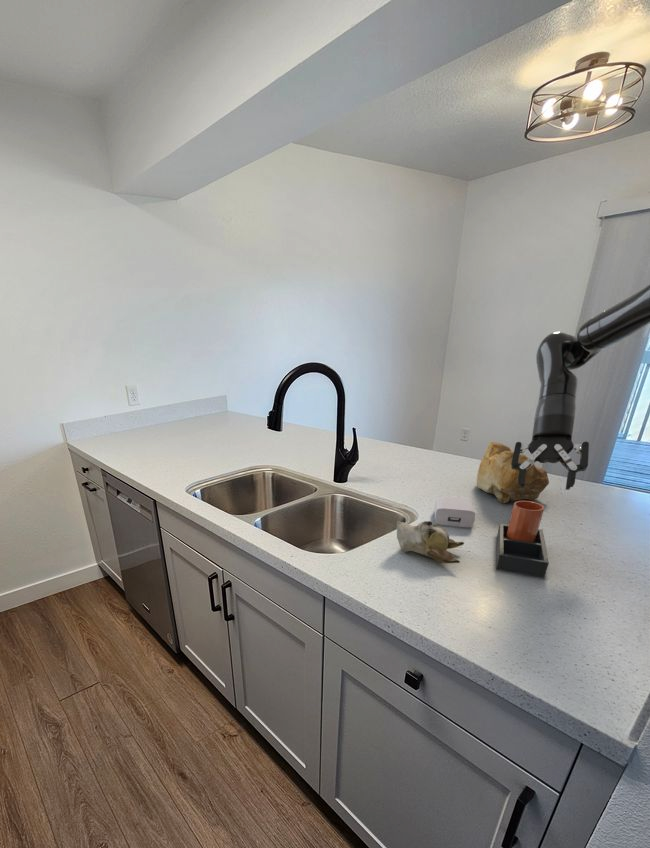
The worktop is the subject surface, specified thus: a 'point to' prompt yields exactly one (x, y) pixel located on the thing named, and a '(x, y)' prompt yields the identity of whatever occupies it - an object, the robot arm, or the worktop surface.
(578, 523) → the worktop surface
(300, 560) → the worktop surface
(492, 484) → the rough brown rock
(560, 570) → the worktop surface
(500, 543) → the holder
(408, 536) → the ceramic sculpture
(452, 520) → the charger
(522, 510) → the cup
